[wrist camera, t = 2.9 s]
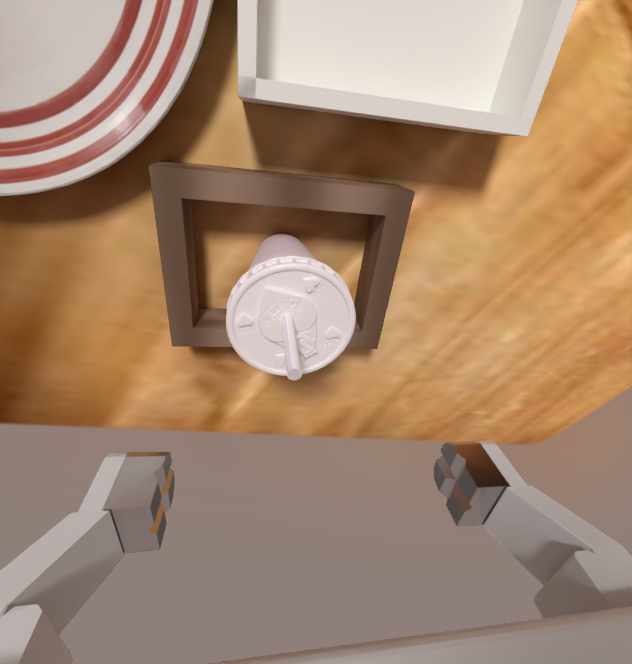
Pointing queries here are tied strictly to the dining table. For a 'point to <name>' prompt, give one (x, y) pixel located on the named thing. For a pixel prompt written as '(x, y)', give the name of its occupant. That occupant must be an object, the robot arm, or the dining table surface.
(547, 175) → the dining table surface
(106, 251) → the dining table surface
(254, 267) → the smoothie
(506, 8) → the tray
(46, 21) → the dinner plate
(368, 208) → the socket block
